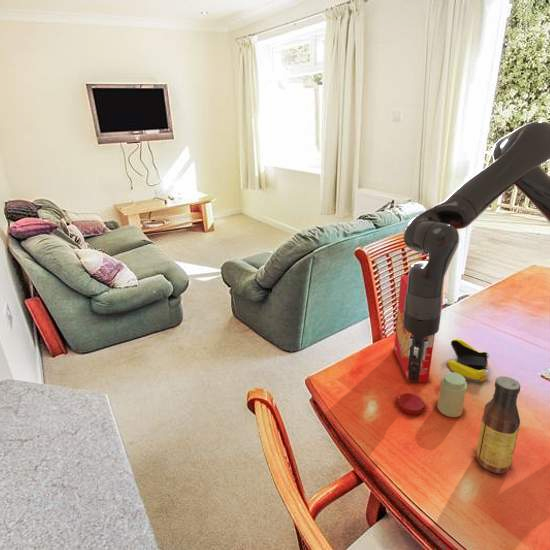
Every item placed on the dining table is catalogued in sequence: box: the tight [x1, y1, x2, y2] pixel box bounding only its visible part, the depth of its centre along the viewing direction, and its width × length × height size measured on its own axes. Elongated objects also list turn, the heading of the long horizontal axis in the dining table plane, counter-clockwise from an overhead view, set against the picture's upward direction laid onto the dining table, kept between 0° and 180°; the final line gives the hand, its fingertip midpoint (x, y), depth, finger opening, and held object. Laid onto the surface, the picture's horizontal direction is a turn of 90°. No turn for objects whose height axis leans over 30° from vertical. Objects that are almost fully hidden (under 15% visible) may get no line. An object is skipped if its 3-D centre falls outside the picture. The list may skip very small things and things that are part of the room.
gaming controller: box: [445, 337, 490, 383], centre depth 103 cm, size 15×6×10 cm
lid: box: [397, 393, 425, 416], centre depth 92 cm, size 6×6×1 cm
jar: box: [436, 371, 468, 418], centre depth 89 cm, size 6×6×9 cm
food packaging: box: [393, 274, 436, 383], centre depth 102 cm, size 15×5×25 cm, turn 178°
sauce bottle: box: [475, 375, 521, 474], centre depth 73 cm, size 7×6×20 cm
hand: (415, 370), depth 88 cm, fingers open, 8 cm apart
